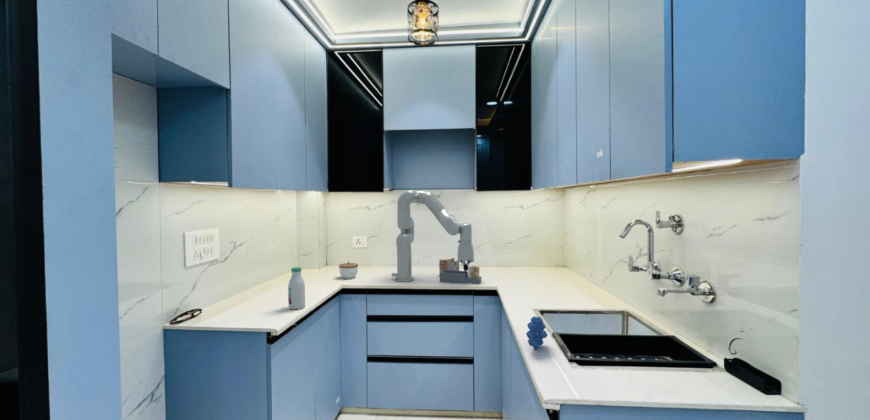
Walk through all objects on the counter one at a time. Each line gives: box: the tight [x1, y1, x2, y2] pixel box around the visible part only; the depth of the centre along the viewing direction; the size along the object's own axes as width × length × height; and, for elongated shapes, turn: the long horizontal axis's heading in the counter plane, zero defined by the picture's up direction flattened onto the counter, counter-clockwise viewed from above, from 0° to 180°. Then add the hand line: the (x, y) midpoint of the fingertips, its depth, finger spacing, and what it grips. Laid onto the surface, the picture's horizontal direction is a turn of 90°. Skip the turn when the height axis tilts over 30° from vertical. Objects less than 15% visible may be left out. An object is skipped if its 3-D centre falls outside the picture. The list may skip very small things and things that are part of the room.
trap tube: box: [439, 270, 482, 285], centre depth 230 cm, size 26×9×6 cm, turn 75°
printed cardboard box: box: [438, 256, 460, 278], centre depth 252 cm, size 21×6×12 cm, turn 154°
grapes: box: [525, 316, 548, 350], centre depth 126 cm, size 12×7×12 cm, turn 137°
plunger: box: [466, 266, 471, 278], centre depth 229 cm, size 10×6×6 cm, turn 75°
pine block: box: [469, 265, 480, 279], centre depth 227 cm, size 5×5×7 cm
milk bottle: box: [287, 266, 306, 310], centre depth 175 cm, size 8×8×20 cm
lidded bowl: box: [338, 261, 359, 280], centre depth 241 cm, size 13×13×11 cm
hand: (465, 270), depth 229 cm, fingers closed
